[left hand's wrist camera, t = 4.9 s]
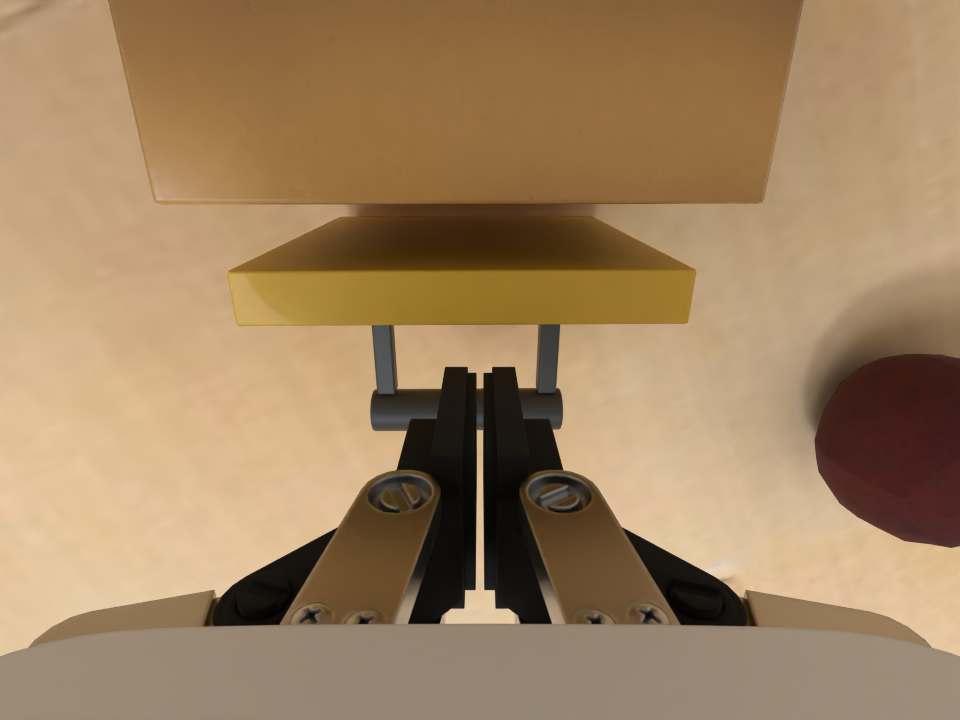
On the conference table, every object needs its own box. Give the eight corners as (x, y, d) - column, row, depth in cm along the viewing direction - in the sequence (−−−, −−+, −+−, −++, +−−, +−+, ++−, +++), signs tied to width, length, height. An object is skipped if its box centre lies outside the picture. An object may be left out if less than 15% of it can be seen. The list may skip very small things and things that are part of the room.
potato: (980, 393, 24) (1174, 483, 17) (841, 501, 26) (967, 618, 19) (888, 296, 22) (1066, 356, 15) (747, 421, 24) (851, 520, 17)
